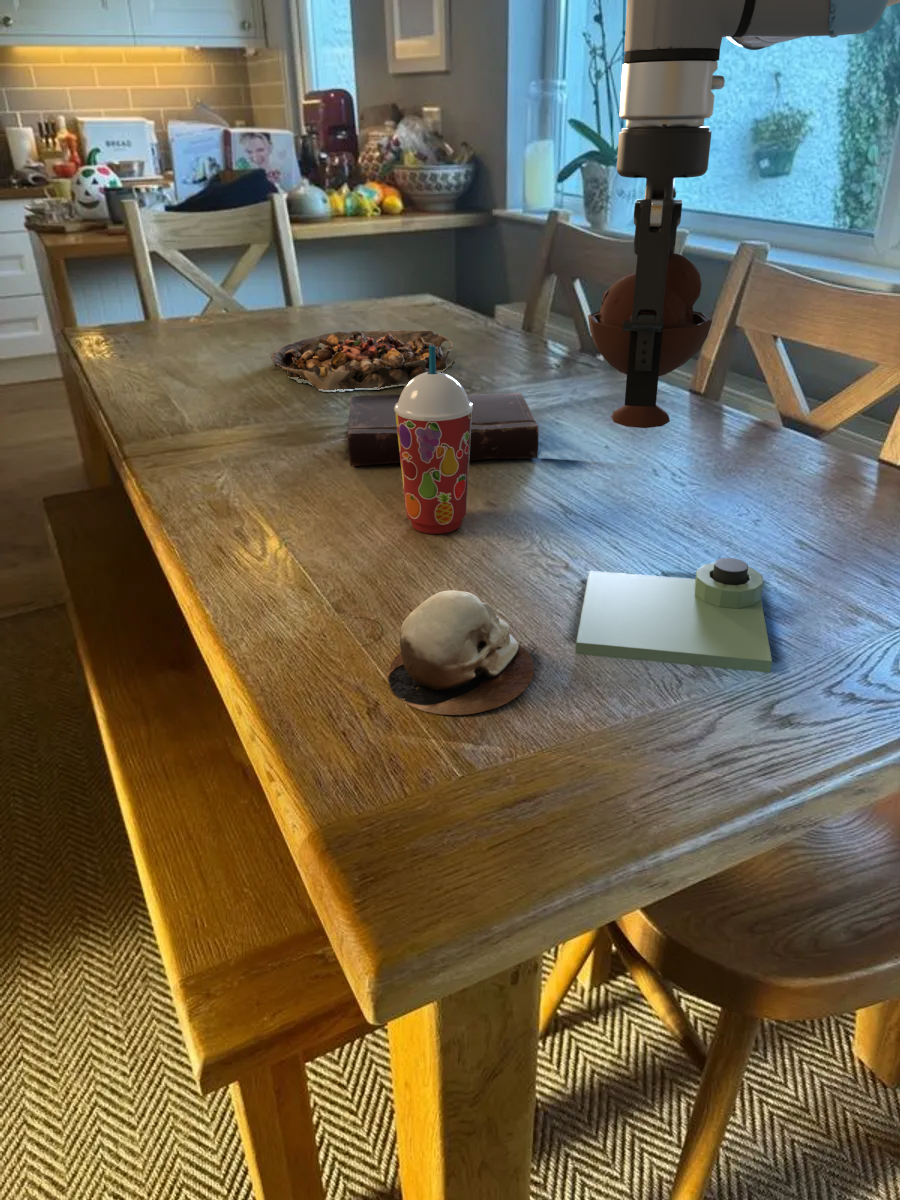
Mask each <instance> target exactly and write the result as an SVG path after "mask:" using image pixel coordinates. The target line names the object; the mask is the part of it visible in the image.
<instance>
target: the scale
mask: <svg viewBox="0 0 900 1200" xmlns="http://www.w3.org/2000/svg"><path fill="white" fill-rule="evenodd" d="M714 563H715V562H711V563H705V564H703V565H702V566H701V567H699V568H697V569H696V571H695V578H688V577H676V576H675V577H674V576H664V575H663V576H662V575H648V574H639V573H638V574H637V573H626V572H625V573H624V572H612V571H599V570H588V574H587V580H586V586H585V591H584V597H583V602H582V608H581V613H580V619H579V624H578V630H577V635H576V640H575V652H574V653H575V654H576V655H585V656H593V657H594V656H595V657H603V658H604V657H605V658H616V659H626V660H635V661H646V662H658V663H667V664H676V665H677V664H678V665H686V666H687V665H688V666H696V667H709V668H719V669H728V670H739V671H749V672H760V673H767V674H768V673H771V671H772V665H773V658H772V653H771V648H770V647H771V646H770V642H769V641H770V640H769V635H768V631H767V625H766V620H765V614H764V613H765V612H764V608H763V602H762V601H763V600H762V595H763V589H764V577H763V575H762V574H761V573H760V572H758V571H757V570H756V569H755V568H753V567H751V566H748V572H747V579H746V583H745V584H741V585H725V584H722V583H719V582H716V581H715V580H713V570H714Z"/></svg>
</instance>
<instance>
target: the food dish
mask: <svg viewBox="0 0 900 1200" xmlns="http://www.w3.org/2000/svg"><path fill="white" fill-rule="evenodd" d="M444 342H449V344H450V346H449V347H448V348H447V350H446V351H445V352H443V350H442V347H441V346H442V344H443V343H444ZM431 345H434V346H435V358H436V371H437V370H443V369H445V368H447V362H448V356H449V354H450V352H451V351H452V349H453V347H454V343H453V342H452V341H451V340H449V338H448V337H447V336H444V335H442V334H439V333H435V332H434V331H432V330H428V329H427V330H425V329H423V330H405V329H403V330H402V329H395V330H394V329H373V330H351V331H336V332H330V333H325V334H321V335H317V336H313V337H308V338H304V339H300V340H297V341H294V342H292V343H287V344H286V345H284V346H282V347H280V348H278V349H276V350H275V351H274V352H272V353H271V356H270V359H271V361H272V363H273V364H274V368H278V367H279V368H280V369H283V370H285V372H286V371H288V373H286V376H287V377H288V376H289V377H299V378H298V379H304V380H307V381H310V382H311V384H312V385H313V386H315V387H314V388H316V389H317V388H318V389H323V390H335V389H336V390H337V389H343V390H344V389H355V388H374V387H378V388H381V387H385V386H391V385H399V384H406V383H408V382H409V381H410V380H412V379H413V378H414V377H416V376H418V375H420V374H422V373H425V372H430V369H429V346H431ZM443 355H444V356H443ZM300 376H301V377H300ZM313 386H312V387H313ZM378 388H377V389H378Z"/></svg>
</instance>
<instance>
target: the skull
mask: <svg viewBox="0 0 900 1200" xmlns="http://www.w3.org/2000/svg"><path fill="white" fill-rule="evenodd" d="M510 628H511V627H510V626H509V624H508V623H507V622H506V621H505V620H503V619H501V618H500V617H499V615H498V614H497V613H496V612H495V610H494V609H493V607H492V606H491V605H490V604H488V603H487V602H482V600H481V599H480V598H479V597H478V596H477V595H476V594H474V593H473V592H469V591H462V590H455V589H454V590H453V589H451V590H450V589H449V590H442V591H440V592H437V593H435V594H433V595H431V596H429V597H428V598H426V600H424V601H422V602H421V603H420V604H419V605H417V607H416V608H415V609H414V610H413V611H411V612H410V613H409V615H408V616H407V617H406V618H405V619H404V621H403V623H402V625H401V626H400V633H399V648H400V652H399V653H398V654H397V655H396V656H395V658H394V659H393V660H392V662H391V664H390V666H389V669H388V673H387V680H388V684H389V687H390V689H391V691H392V693H393V694H394V695H395V696H396V697H397V698H398V699H399V700H400V701H402V702H403V703H404V704H406V705H408V706H410V707H413V708H414V709H416V710H420V711H423V712H426V713H431V714H435V715H436V714H437V715H443V716H444V715H446V716H447V715H448V716H462V715H463V716H465V715H467V716H468V715H473V714H477V713H483V712H486V711H490V710H495V709H497V708H499V707H501V706H504V705H506V704H508V703H509V702H511V701H513V700H514V699H516V698H517V697H519V696H520V695H521V694H523V692H524V691H525V690H526V689H527V688H528V686H529V685H530V683H531V682H532V679H533V676H534V673H535V665H534V661H533V658H532V656H531V655H530V653H529V652H528V650H527V649H526V648H524V647H523V646H522V645H521V644H519V643H518V642H517V640H516V638H515V637H514V636H513V635H511V634H510Z"/></svg>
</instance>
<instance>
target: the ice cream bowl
mask: <svg viewBox="0 0 900 1200" xmlns="http://www.w3.org/2000/svg"><path fill="white" fill-rule="evenodd" d="M635 277H636V272H628V273H627V274H625V276H623V277H621V278H619V279H618V280H617V281H616V282H615V283H612V285H611V286H609V287H608V288H607V289H606V290H605V291H604V292H603V295H602V299H601V304H600V309H599V311H595V312H592V313H590V314H588V315H587V317H588V326H589V332H590V335H591V337H592V341H593V343H594V346H595V347H596V349H597V350H598V352H599V354H600V355H601V356H602V357H603V358H604V360H605V361H606V362H607V363H608V364H609V365H610V366H611V367H613V368H614V369H615V370H616V371H619V372H620V373H621V374H624V375H626V376H627V366H628V353H629V340H630V331H623V321H630V317H631V316H632V310H633V299H634V288H635ZM701 291H702V278H701V274H700V272H699V270H698V268H697V267H696V265H695V263H694V262H692V261H691V260H690V259H689V258H688V257H686V256H684V255H682V254H678V253H677V252H676V253H675V252H674V253H673V254H672V255H671V256H669V257H668V263H667V273H666V283H665V294H664V304H663V314H662V317H663V318H664V323H663V328H662V329H661V330H663V334H662V344H661V355H660V366H659V377H662V376H666V375H667V374H669V373H671V372H673V371H675V370H676V369H678V368H680V367H681V366H683V365H685V364H686V363H688V361H690V360H691V359H692V358H693V357H694V356H695V355H696V354H698V352H700V350H701V348H702V347H703V345H704V343H705V342H706V340H707V339H708V337H709V333H710V329H711V326H712V322H713V320H712V319H711V318H710V317H708V316H707V315H706V314H705V313H704V312H700V311H696V310H695V311H694V305H695V304H696V302H697V300H699V298H700V296H701ZM641 313H654V312H641ZM610 417H611V419H612V421H613V423H614V424H617V425H620V426H623V427H627V428H638V429H650V428H658V427H659V428H660V427H663V426H665V425H667V424H669V423H670V422H671V420H670V416H669V414H668V412H667V410H665V409H664V408H662V407H661V406H659V405H658V404H656V407H646V406H625V404H624V405H623V406H621V407H619V408H617V409H615V410H614V411H612V414H611V416H610Z"/></svg>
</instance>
